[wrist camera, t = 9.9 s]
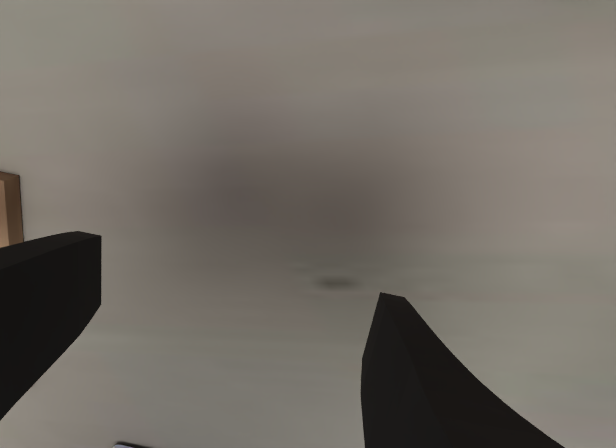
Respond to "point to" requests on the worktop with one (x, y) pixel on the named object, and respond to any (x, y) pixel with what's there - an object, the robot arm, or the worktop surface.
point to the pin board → (10, 210)
